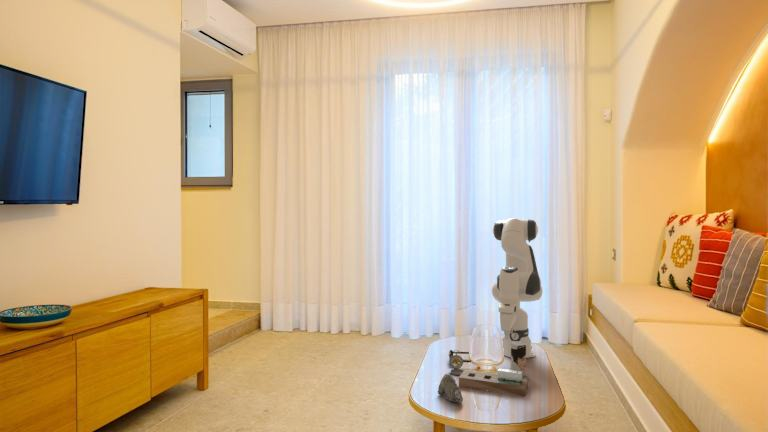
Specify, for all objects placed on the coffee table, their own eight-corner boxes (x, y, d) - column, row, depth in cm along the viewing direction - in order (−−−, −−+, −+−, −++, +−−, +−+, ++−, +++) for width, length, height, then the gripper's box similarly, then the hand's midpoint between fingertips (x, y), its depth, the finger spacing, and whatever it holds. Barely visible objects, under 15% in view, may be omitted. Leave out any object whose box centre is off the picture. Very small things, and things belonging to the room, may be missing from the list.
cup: (518, 379, 224) (519, 346, 224) (507, 374, 230) (507, 342, 229) (528, 376, 228) (529, 343, 227) (517, 371, 234) (517, 340, 233)
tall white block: (498, 386, 215) (498, 368, 215) (522, 390, 211) (522, 371, 211) (497, 389, 212) (497, 370, 212) (521, 392, 208) (521, 373, 208)
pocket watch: (457, 377, 227) (457, 355, 227) (444, 371, 234) (444, 350, 233) (470, 373, 232) (470, 352, 231) (457, 368, 238) (457, 347, 238)
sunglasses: (480, 368, 239) (480, 358, 239) (448, 367, 241) (448, 357, 241) (479, 359, 253) (479, 349, 252) (449, 358, 255) (449, 348, 255)
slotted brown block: (464, 378, 224) (464, 369, 224) (528, 387, 214) (528, 378, 213) (458, 386, 215) (458, 376, 215) (525, 396, 204) (525, 386, 204)
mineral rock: (462, 407, 194) (462, 382, 193) (434, 405, 196) (435, 380, 196) (464, 395, 206) (464, 371, 206) (438, 392, 208) (438, 369, 208)
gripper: (505, 298, 224) (505, 328, 225) (497, 309, 205) (497, 342, 206) (519, 300, 222) (519, 330, 222) (513, 310, 203) (512, 343, 204)
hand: (508, 336), depth 214 cm, fingers open, 8 cm apart
